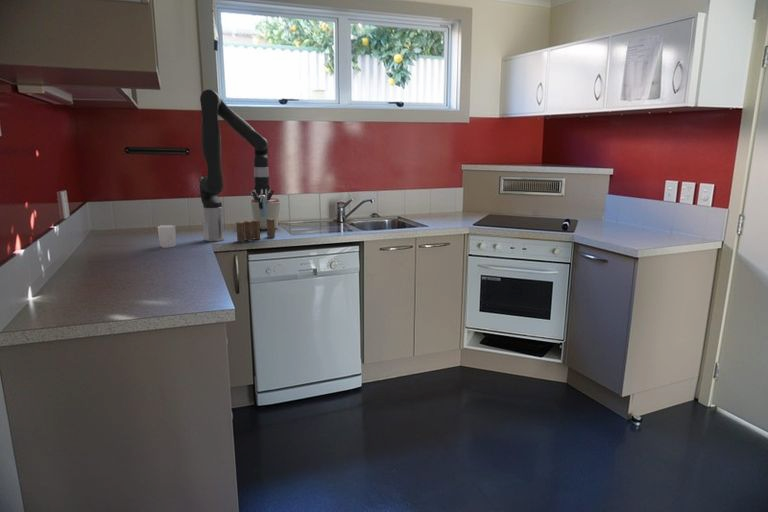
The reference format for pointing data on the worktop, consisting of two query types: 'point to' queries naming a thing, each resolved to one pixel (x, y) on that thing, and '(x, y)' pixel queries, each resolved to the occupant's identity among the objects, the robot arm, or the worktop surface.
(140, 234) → the worktop surface
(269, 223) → the domino
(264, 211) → the domino
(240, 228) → the domino
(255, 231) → the domino
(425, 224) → the worktop surface
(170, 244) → the white cup
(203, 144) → the robot arm
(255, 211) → the canister
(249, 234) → the domino
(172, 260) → the worktop surface
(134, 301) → the worktop surface
